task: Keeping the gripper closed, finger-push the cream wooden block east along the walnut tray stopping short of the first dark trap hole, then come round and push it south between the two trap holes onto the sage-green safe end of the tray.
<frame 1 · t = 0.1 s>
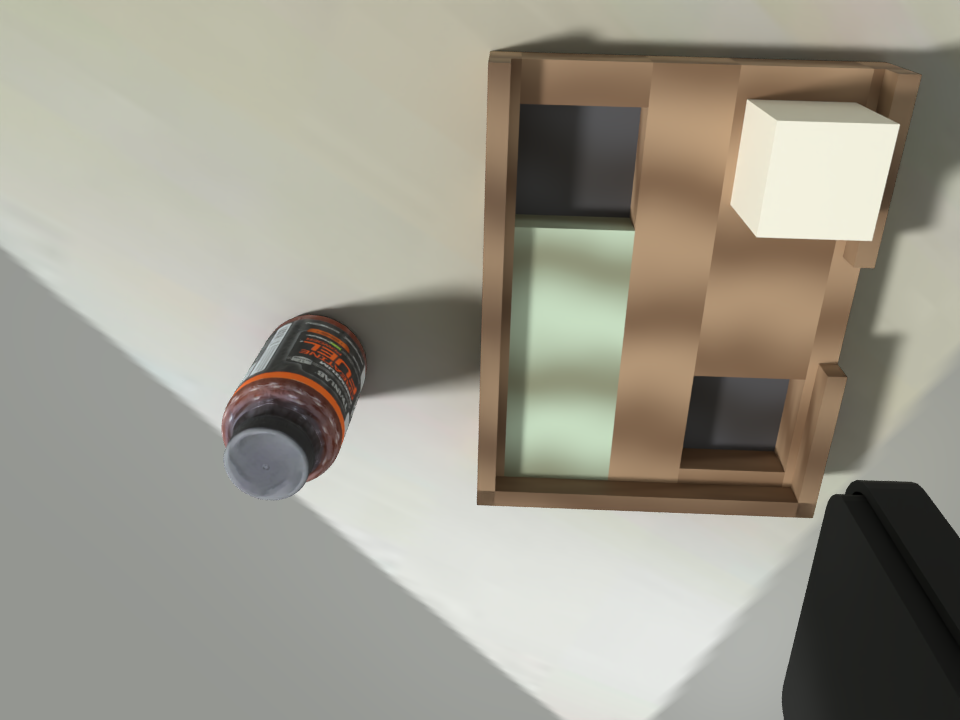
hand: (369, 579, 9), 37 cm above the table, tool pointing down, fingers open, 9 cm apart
block: (791, 155, 40), point 2 cm above the table, touching tray
supplement bottle: (318, 356, 49), on the table
tray: (658, 288, 46), on the table
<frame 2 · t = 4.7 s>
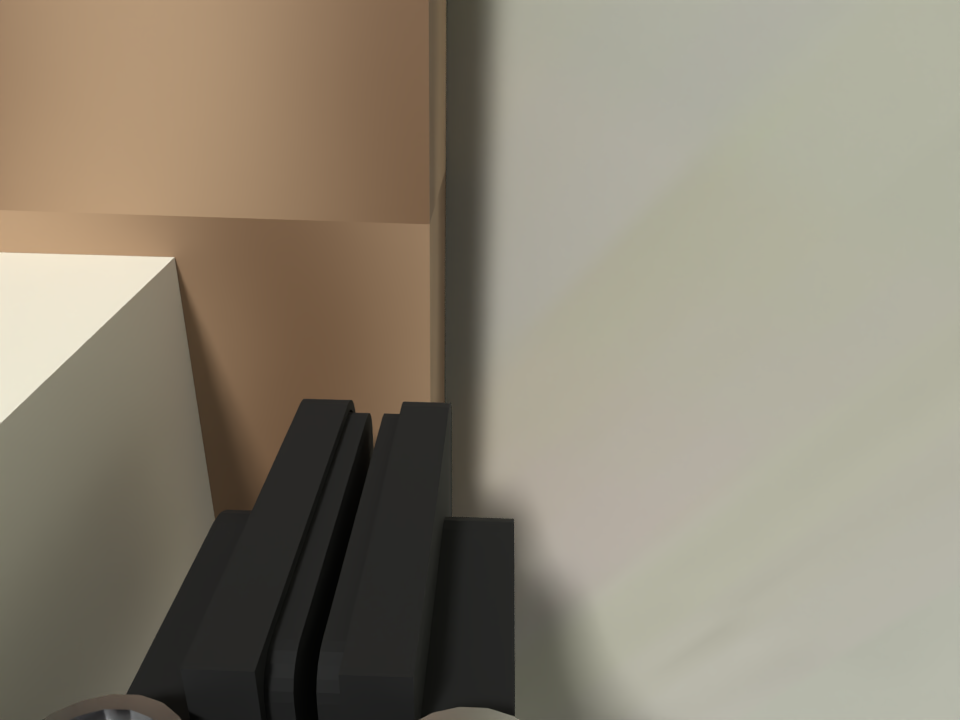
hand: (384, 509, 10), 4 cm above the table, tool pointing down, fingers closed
block: (11, 434, 11), point 3 cm above the table, touching gripper
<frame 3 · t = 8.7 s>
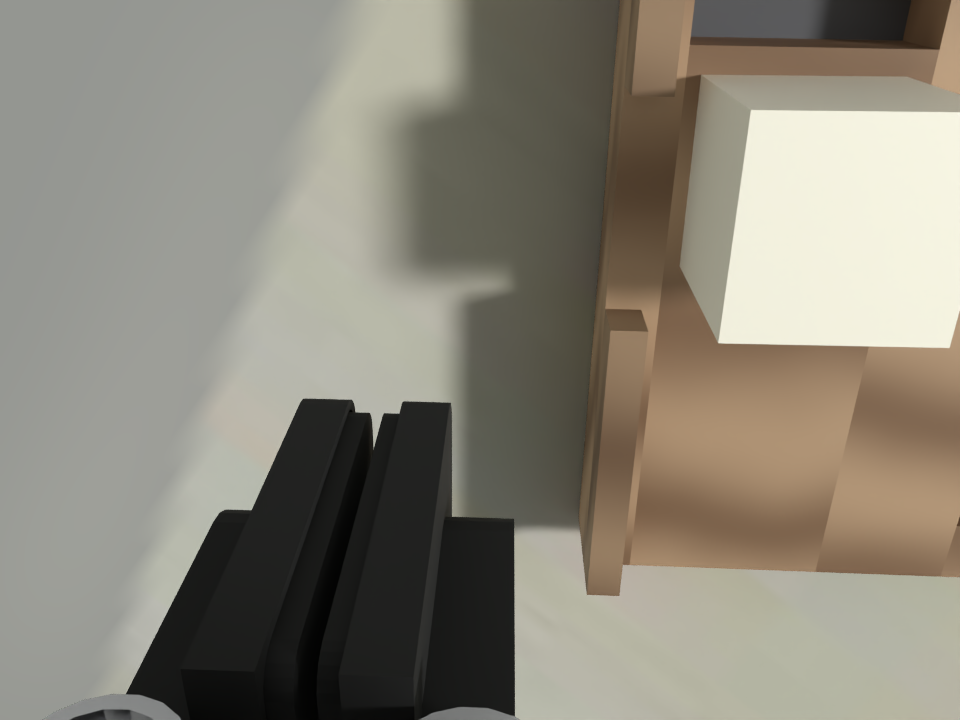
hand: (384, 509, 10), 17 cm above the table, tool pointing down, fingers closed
block: (787, 176, 22), point 2 cm above the table, touching tray
tray: (936, 188, 24), on the table
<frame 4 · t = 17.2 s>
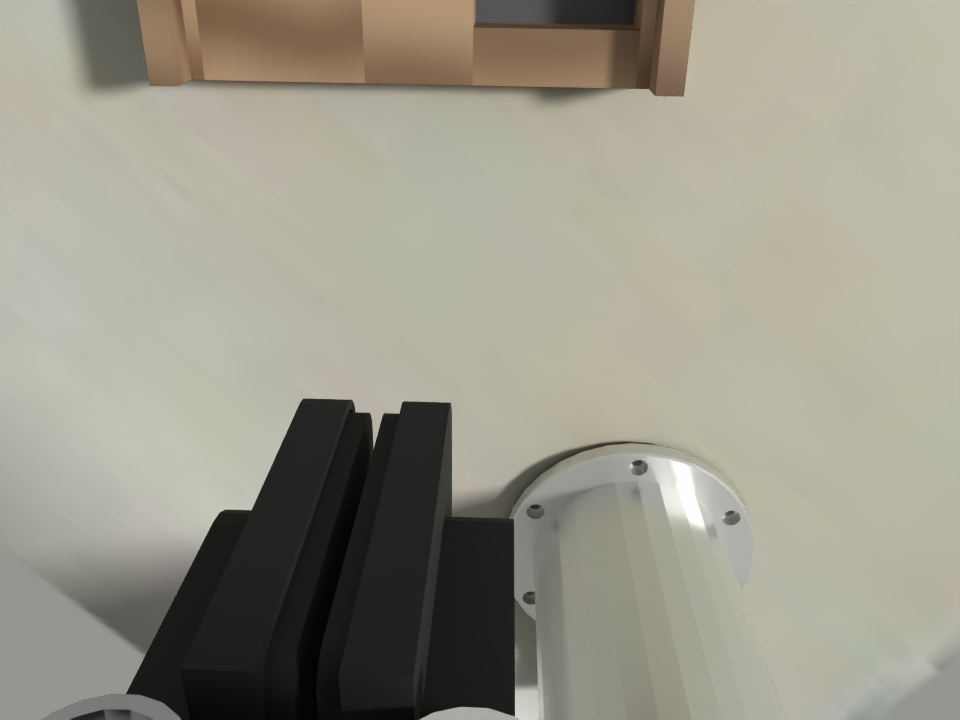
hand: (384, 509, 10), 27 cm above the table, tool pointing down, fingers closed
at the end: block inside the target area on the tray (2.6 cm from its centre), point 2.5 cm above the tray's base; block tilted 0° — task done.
